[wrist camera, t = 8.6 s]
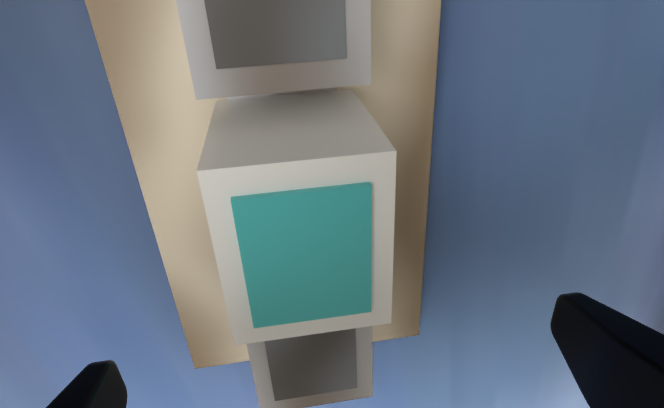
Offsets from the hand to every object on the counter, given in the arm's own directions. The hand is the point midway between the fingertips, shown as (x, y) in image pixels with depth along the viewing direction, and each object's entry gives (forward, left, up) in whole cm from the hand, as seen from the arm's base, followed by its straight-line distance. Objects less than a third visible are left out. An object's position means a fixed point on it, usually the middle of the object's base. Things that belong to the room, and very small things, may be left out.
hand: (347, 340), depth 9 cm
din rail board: (+1, +1, -12) cm, 12 cm away
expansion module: (+1, +1, -10) cm, 10 cm away
